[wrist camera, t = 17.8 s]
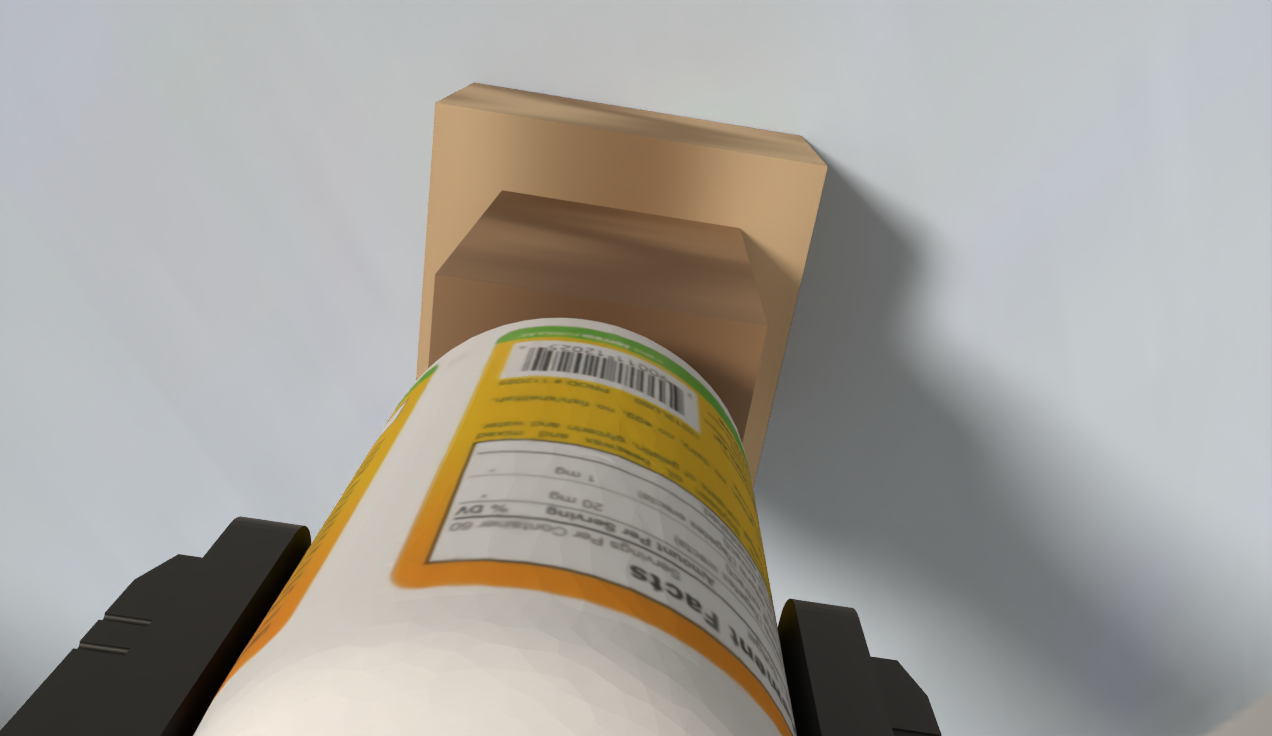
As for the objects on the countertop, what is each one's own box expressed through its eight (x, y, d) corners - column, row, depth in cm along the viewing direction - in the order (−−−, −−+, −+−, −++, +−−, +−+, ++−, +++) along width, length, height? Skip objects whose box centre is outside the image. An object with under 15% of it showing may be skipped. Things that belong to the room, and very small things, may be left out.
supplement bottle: (493, 670, 15) (250, 1648, 6) (318, 396, 14) (-370, 1216, 5) (803, 558, 14) (1036, 1531, 5) (659, 246, 13) (643, 921, 4)
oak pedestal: (448, 384, 25) (411, 453, 22) (473, 82, 22) (435, 102, 19) (737, 429, 26) (749, 503, 22) (801, 135, 23) (827, 166, 19)
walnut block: (480, 406, 21) (414, 557, 16) (502, 190, 19) (434, 273, 14) (697, 439, 21) (707, 600, 16) (739, 228, 20) (767, 326, 14)
